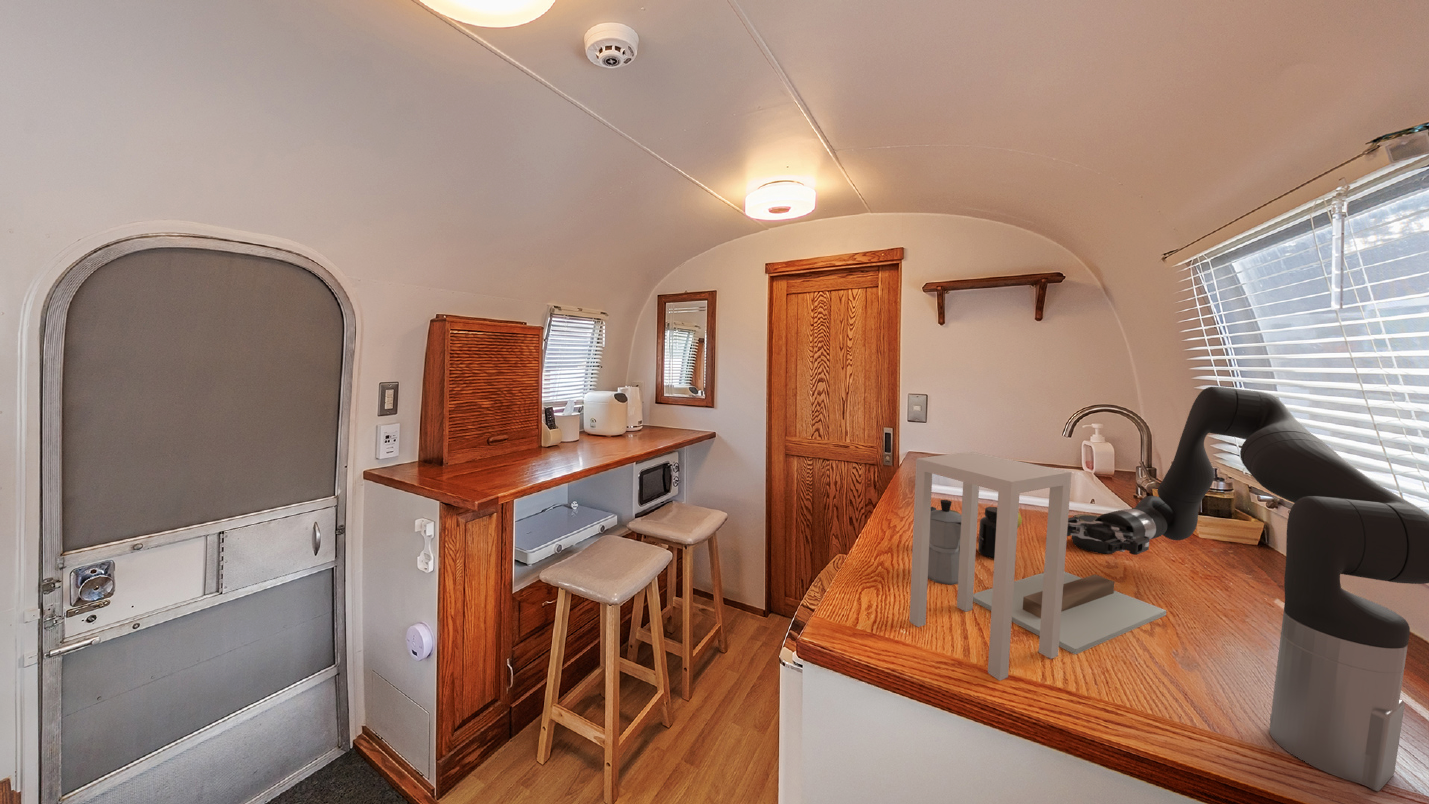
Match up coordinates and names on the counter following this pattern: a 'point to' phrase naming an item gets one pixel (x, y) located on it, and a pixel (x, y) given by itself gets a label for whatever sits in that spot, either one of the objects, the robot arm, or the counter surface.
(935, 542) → the coffee maker
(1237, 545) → the counter surface
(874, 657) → the counter surface
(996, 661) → the grey table
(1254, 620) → the counter surface
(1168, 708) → the counter surface
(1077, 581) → the walnut bar
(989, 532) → the supplement bottle
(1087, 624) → the grey-green mat
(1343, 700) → the robot arm
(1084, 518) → the jar
